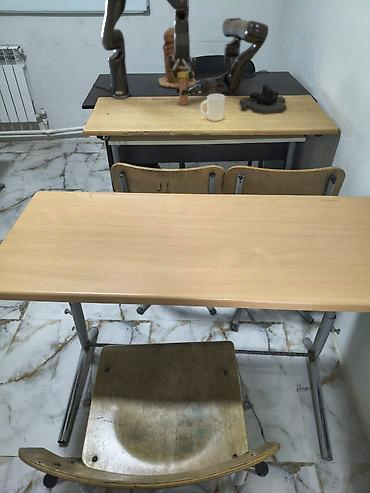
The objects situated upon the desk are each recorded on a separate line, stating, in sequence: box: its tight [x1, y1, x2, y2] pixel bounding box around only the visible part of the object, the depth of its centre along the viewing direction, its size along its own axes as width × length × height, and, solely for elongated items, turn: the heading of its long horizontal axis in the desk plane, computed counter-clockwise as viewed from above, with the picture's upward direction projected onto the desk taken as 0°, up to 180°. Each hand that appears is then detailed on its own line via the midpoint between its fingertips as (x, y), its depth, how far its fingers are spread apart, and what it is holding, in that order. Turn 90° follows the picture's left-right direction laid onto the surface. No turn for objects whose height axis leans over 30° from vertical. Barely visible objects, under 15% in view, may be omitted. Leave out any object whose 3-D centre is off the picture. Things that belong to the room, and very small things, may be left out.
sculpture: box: [157, 27, 198, 89], centre depth 214 cm, size 27×24×30 cm
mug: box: [199, 93, 226, 122], centre depth 172 cm, size 12×8×10 cm
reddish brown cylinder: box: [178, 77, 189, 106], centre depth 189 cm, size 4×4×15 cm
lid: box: [178, 71, 188, 78], centre depth 184 cm, size 6×5×2 cm
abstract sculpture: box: [239, 84, 287, 115], centre depth 184 cm, size 25×9×20 cm
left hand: (182, 78), depth 185 cm, fingers open, 7 cm apart
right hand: (179, 91), depth 188 cm, fingers closed on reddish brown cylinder, 4 cm apart
